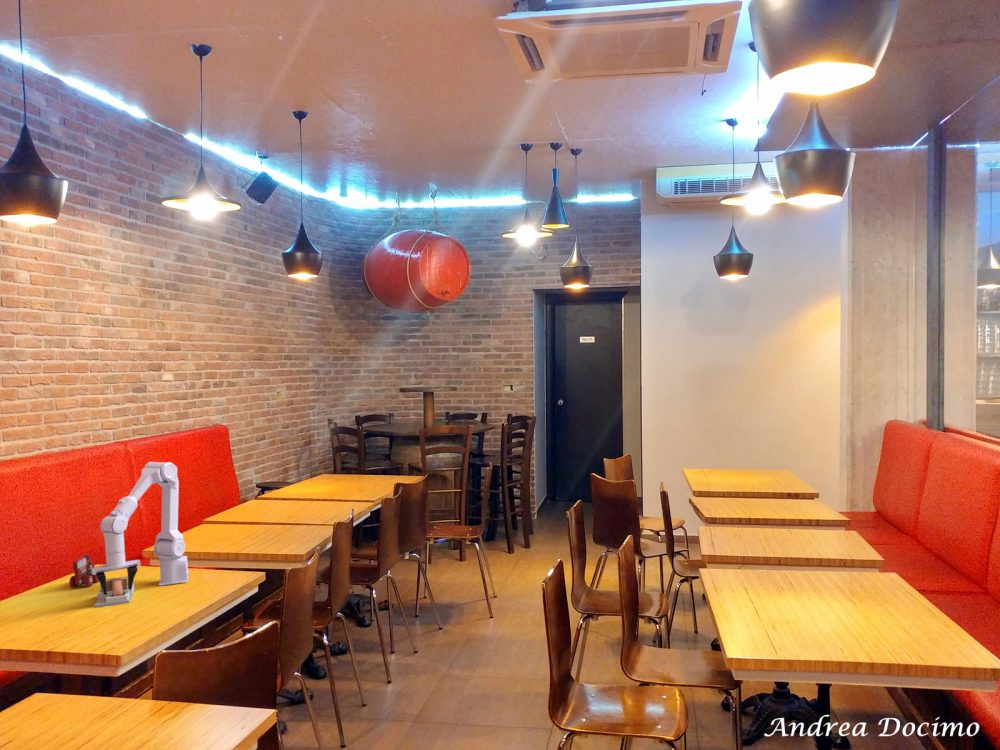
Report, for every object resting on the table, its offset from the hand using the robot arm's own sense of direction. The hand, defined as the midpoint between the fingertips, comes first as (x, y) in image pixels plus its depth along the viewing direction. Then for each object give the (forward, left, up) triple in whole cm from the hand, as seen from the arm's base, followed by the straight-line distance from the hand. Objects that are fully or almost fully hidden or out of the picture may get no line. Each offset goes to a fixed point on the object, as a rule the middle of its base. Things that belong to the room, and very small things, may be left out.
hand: (117, 591), depth 263 cm
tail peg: (0, 0, -3) cm, 3 cm away
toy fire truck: (+15, -29, -4) cm, 33 cm away
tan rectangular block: (+2, -7, -3) cm, 8 cm away
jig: (+2, -4, -3) cm, 5 cm away
